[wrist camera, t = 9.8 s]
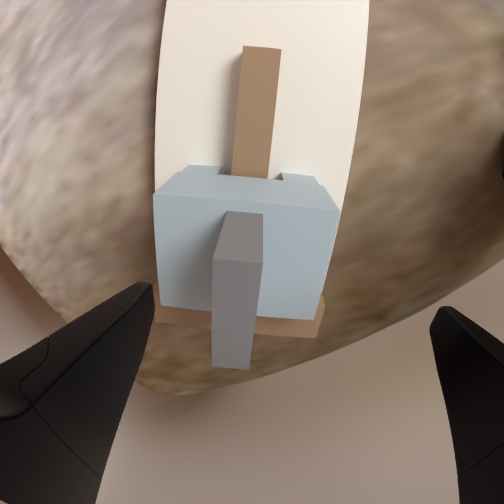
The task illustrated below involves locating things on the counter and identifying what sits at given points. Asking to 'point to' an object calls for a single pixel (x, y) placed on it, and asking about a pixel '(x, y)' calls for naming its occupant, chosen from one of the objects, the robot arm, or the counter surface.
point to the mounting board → (301, 84)
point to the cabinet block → (242, 251)
